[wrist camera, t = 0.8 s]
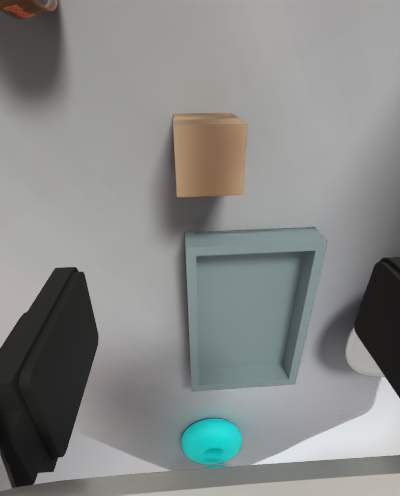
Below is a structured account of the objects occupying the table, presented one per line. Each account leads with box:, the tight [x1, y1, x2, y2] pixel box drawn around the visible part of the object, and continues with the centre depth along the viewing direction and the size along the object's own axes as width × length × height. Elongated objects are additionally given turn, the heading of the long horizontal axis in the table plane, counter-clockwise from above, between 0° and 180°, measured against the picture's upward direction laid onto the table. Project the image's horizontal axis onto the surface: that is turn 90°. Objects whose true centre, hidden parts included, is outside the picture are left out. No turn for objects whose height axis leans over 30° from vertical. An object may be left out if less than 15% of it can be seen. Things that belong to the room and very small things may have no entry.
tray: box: [185, 227, 327, 391], centre depth 36 cm, size 14×22×3 cm, turn 1°
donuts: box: [182, 418, 242, 469], centre depth 47 cm, size 10×10×10 cm
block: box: [173, 113, 248, 197], centre depth 24 cm, size 5×5×7 cm
